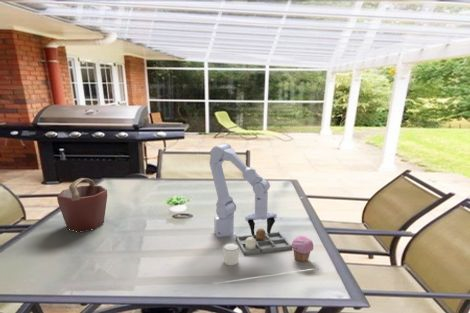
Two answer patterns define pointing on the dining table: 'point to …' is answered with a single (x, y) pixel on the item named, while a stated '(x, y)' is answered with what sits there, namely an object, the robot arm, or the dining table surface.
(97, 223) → the bucket
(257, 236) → the brown egg
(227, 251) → the white textured cylinder
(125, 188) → the dining table surface
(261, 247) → the egg tray
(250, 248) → the cream egg
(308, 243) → the cupcake
